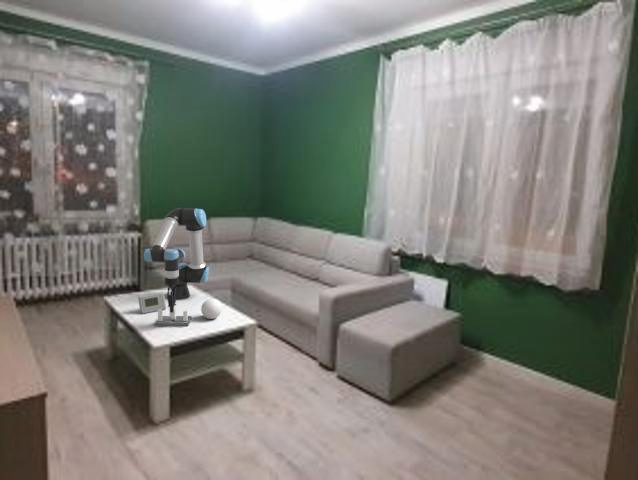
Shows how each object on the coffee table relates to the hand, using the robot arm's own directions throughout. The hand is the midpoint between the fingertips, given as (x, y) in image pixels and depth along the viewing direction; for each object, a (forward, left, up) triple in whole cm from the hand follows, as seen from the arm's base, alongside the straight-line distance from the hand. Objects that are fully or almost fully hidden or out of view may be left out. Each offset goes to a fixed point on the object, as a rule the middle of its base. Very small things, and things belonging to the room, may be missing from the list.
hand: (172, 316), depth 238 cm
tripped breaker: (-4, 0, -3) cm, 5 cm away
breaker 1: (-2, -7, -3) cm, 8 cm away
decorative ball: (-12, +21, -5) cm, 24 cm away
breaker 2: (-2, +7, -3) cm, 8 cm away
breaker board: (-4, 0, -5) cm, 7 cm away
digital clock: (-25, -17, -6) cm, 31 cm away
